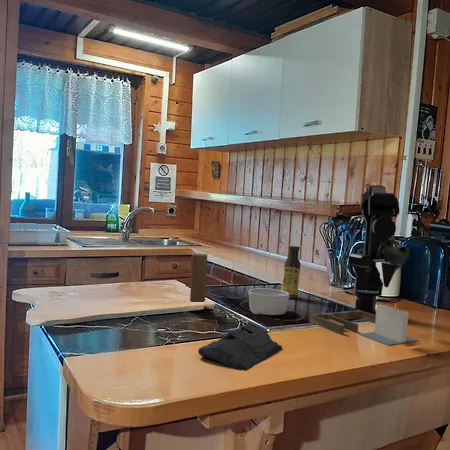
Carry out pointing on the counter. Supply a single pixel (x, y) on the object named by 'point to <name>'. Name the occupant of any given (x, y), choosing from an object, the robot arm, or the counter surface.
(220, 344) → the folded dark cloth
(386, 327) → the board
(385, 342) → the mat
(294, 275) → the sauce bottle
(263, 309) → the ramekin
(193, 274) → the wooden block
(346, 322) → the rack
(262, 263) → the counter surface
